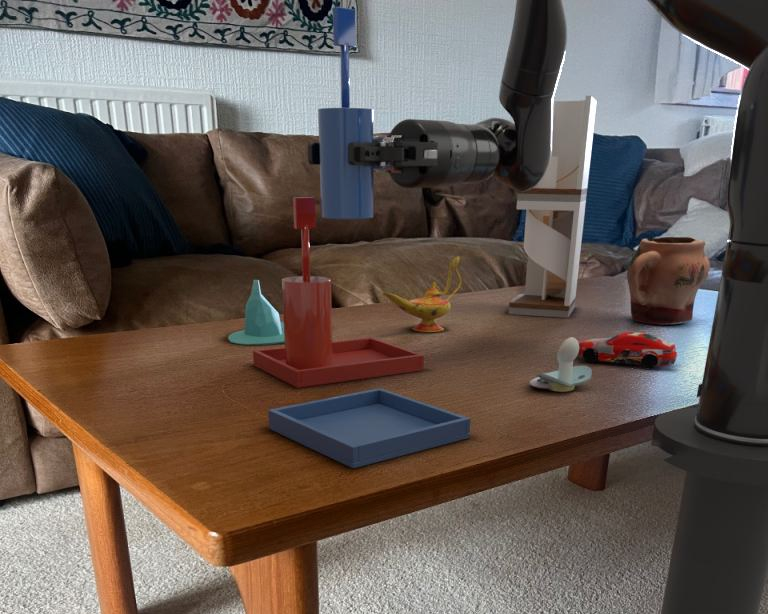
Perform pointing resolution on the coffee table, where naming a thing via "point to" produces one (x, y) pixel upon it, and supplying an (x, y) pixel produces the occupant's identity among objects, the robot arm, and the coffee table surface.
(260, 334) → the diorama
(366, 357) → the red tray
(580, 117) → the display case
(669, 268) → the decorative planter
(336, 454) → the blue tray
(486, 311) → the coffee table surface
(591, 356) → the race car
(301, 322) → the red spoon pot
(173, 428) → the coffee table surface
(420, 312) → the magic lamp
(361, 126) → the blue pot
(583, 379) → the pacifier
